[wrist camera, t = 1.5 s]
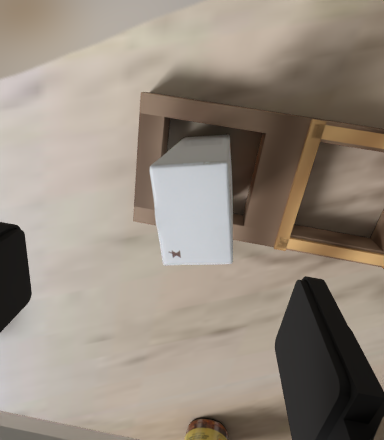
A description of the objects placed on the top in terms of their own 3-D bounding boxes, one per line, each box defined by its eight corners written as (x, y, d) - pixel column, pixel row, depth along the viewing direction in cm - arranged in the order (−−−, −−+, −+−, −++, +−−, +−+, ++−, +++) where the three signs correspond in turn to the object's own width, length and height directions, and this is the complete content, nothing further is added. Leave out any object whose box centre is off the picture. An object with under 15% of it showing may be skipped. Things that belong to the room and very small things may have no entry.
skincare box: (233, 198, 27) (234, 268, 16) (188, 200, 28) (160, 268, 17) (231, 131, 25) (230, 160, 14) (182, 135, 25) (144, 166, 14)
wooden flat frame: (443, 138, 23) (469, 143, 20) (385, 255, 27) (401, 272, 25) (149, 92, 24) (139, 92, 22) (141, 211, 29) (132, 222, 26)
